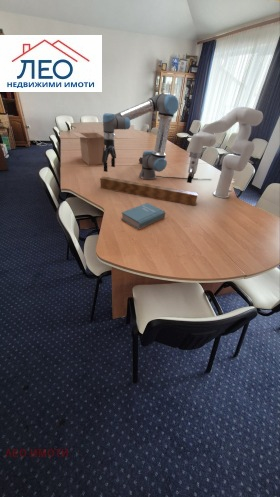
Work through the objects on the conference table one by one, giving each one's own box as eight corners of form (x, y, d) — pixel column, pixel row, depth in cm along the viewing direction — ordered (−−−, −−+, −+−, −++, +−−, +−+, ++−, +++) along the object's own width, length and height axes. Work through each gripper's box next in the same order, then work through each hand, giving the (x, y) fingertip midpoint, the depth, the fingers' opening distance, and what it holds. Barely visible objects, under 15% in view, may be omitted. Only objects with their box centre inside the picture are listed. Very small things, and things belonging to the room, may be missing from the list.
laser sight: (158, 166, 235) (159, 156, 229) (137, 164, 238) (138, 154, 232) (159, 164, 243) (160, 154, 237) (139, 161, 245) (140, 152, 239)
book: (146, 209, 152) (147, 202, 149) (164, 218, 143) (165, 211, 140) (121, 219, 138) (121, 212, 135) (139, 230, 130) (139, 222, 127)
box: (116, 165, 229) (116, 136, 213) (83, 168, 214) (80, 137, 198) (102, 154, 259) (101, 128, 243) (71, 156, 244) (68, 129, 228)
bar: (100, 187, 178) (100, 178, 174) (103, 185, 182) (103, 176, 178) (194, 205, 162) (197, 195, 157) (195, 203, 166) (198, 193, 161)
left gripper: (106, 142, 147) (106, 174, 159) (120, 136, 166) (120, 165, 179) (95, 141, 148) (97, 172, 161) (111, 135, 168) (111, 164, 180)
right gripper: (199, 158, 138) (193, 185, 148) (202, 152, 151) (196, 177, 161) (187, 157, 139) (182, 183, 149) (191, 151, 153) (186, 175, 163)
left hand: (109, 169), depth 170 cm, fingers open, 13 cm apart
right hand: (190, 180), depth 155 cm, fingers open, 9 cm apart
